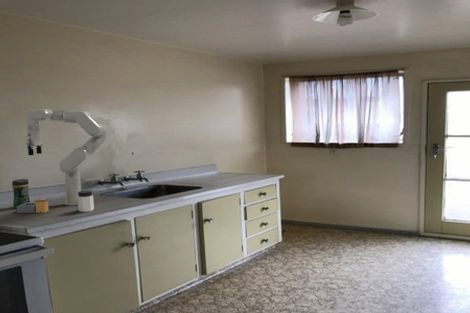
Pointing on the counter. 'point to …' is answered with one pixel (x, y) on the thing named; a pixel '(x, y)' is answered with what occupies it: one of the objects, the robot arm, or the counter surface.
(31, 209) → the holder
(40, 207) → the block
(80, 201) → the jar
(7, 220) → the counter surface
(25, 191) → the coffee jar
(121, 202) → the counter surface
